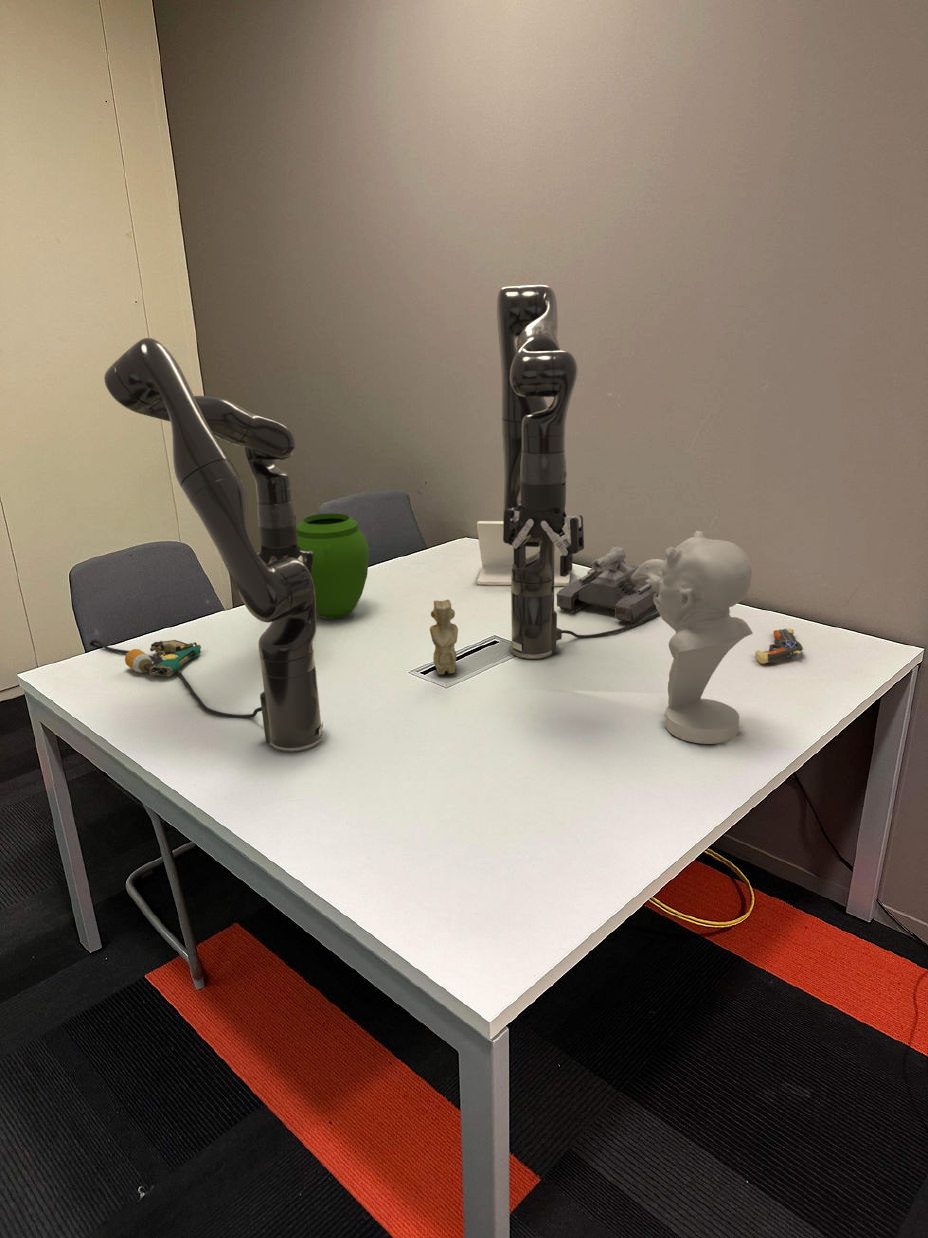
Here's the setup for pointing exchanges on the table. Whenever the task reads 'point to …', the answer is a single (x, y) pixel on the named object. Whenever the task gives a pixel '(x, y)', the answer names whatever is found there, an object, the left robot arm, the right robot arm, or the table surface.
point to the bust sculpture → (699, 629)
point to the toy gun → (780, 646)
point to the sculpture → (444, 637)
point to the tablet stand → (506, 556)
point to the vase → (335, 562)
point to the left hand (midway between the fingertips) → (284, 599)
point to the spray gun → (162, 657)
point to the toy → (610, 589)
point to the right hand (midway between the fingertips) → (542, 571)
